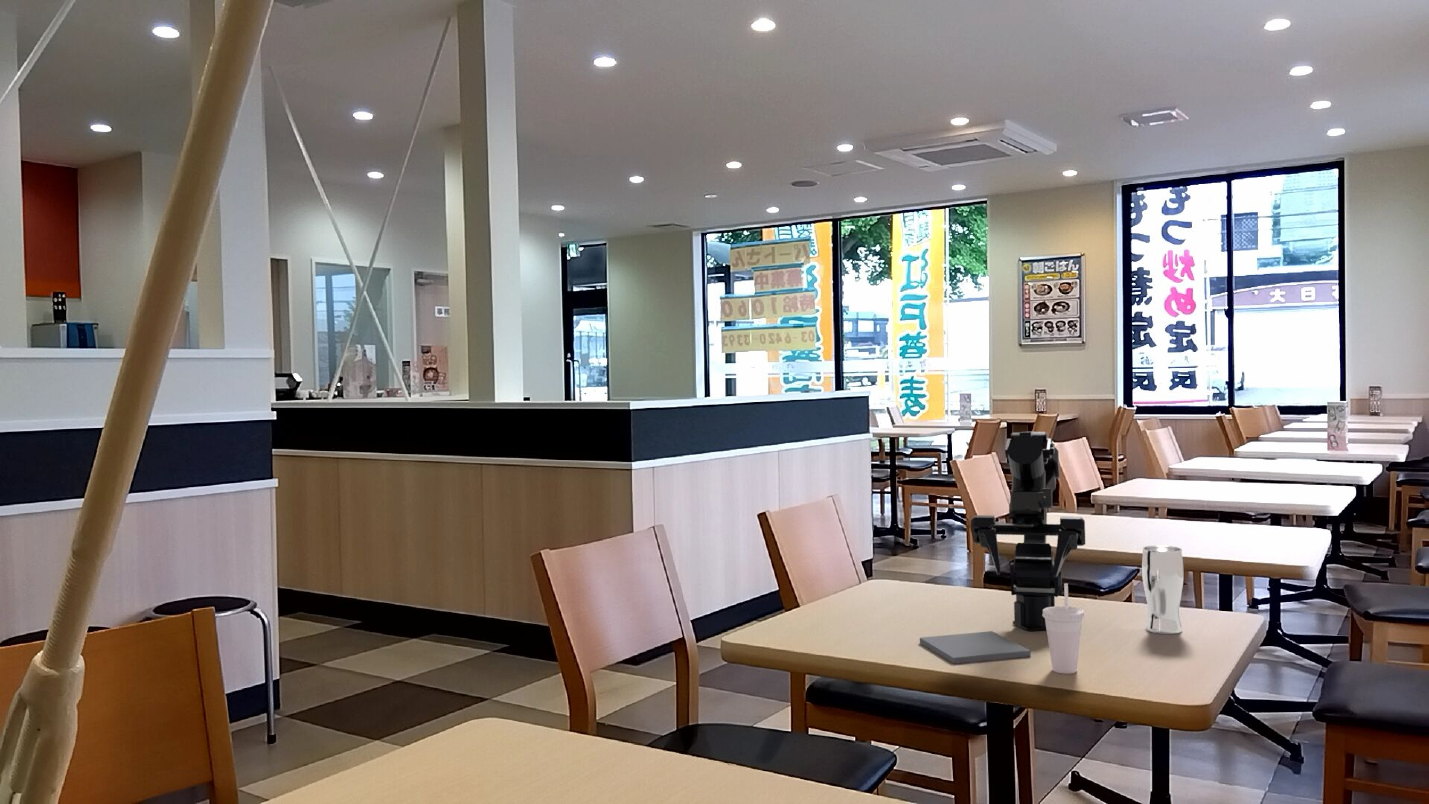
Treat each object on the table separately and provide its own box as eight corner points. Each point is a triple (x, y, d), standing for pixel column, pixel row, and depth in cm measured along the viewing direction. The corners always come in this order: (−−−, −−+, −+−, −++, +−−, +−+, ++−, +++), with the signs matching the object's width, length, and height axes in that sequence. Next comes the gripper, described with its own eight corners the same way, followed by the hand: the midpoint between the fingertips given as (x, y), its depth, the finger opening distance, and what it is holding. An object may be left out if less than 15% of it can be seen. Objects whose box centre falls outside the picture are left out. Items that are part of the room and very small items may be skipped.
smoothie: (1091, 675, 165) (1089, 587, 165) (1050, 676, 165) (1048, 588, 165) (1077, 664, 172) (1075, 579, 171) (1038, 665, 172) (1036, 580, 172)
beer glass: (1134, 628, 193) (1133, 547, 193) (1163, 624, 196) (1161, 544, 196) (1164, 636, 187) (1162, 553, 187) (1193, 631, 190) (1191, 549, 189)
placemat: (991, 636, 191) (991, 631, 191) (1030, 656, 177) (1030, 650, 177) (919, 643, 188) (919, 637, 188) (953, 663, 174) (953, 657, 174)
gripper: (969, 470, 182) (964, 551, 173) (1083, 470, 175) (1084, 554, 167) (975, 502, 190) (971, 581, 182) (1084, 503, 184) (1086, 585, 176)
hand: (1026, 575), depth 176 cm, fingers open, 9 cm apart
